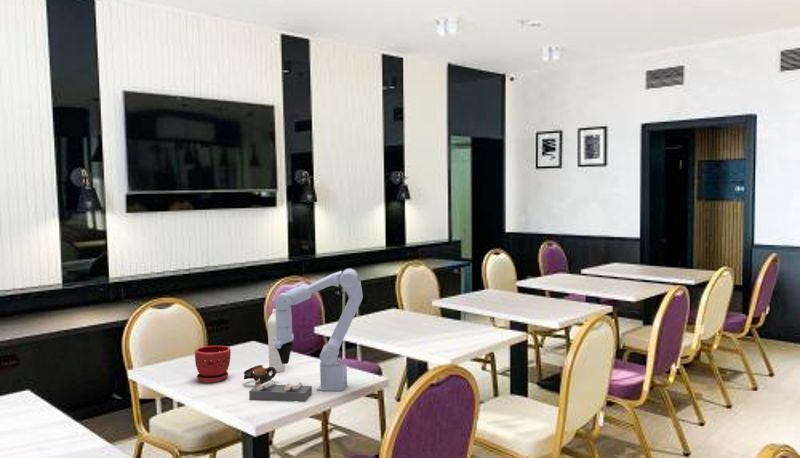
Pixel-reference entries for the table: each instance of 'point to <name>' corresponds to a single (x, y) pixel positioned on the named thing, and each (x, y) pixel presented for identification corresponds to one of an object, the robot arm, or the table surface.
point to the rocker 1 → (265, 385)
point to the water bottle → (273, 345)
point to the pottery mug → (260, 374)
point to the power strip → (280, 393)
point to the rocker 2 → (292, 386)
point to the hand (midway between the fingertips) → (285, 363)
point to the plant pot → (212, 363)
